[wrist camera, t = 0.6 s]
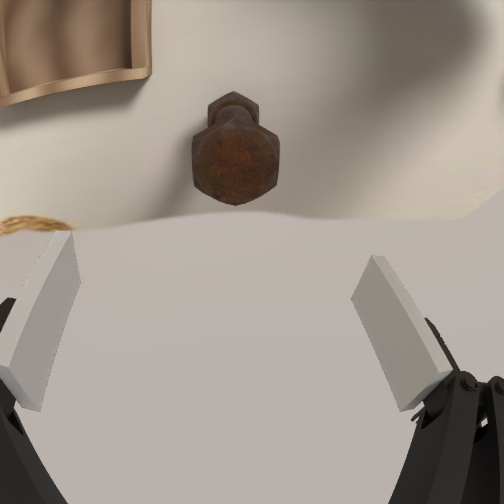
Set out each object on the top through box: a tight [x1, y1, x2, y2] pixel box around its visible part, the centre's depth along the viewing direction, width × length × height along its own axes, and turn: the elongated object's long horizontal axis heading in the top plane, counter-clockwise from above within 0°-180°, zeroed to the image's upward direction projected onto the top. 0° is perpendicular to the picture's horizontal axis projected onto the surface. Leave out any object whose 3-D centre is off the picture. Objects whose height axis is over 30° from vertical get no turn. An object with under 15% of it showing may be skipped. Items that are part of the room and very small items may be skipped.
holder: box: [0, 0, 152, 108], centre depth 19 cm, size 18×18×4 cm
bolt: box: [192, 91, 280, 206], centre depth 24 cm, size 6×5×15 cm
